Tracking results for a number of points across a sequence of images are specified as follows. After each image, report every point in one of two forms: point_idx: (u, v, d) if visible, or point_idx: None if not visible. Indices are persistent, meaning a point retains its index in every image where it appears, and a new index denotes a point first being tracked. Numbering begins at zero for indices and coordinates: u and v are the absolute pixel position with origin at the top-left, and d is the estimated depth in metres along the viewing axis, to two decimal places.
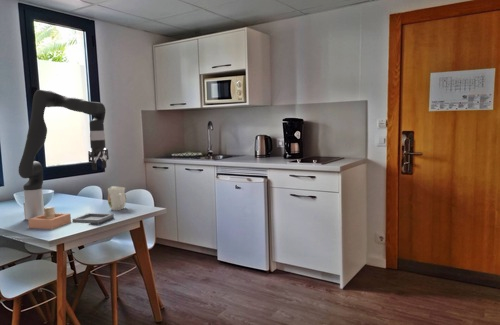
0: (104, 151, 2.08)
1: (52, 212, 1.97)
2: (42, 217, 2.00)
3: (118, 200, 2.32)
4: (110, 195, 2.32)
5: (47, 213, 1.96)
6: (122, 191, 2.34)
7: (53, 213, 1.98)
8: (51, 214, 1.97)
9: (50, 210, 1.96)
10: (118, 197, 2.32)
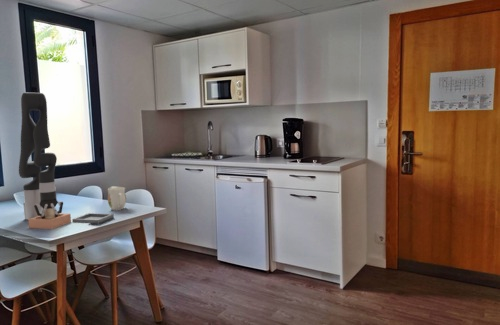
0: (39, 205, 1.96)
1: (52, 212, 1.97)
2: None
3: (118, 200, 2.32)
4: (110, 195, 2.32)
5: (47, 213, 1.96)
6: (122, 191, 2.34)
7: (53, 213, 1.98)
8: (51, 214, 1.97)
9: (50, 210, 1.96)
10: (118, 197, 2.32)
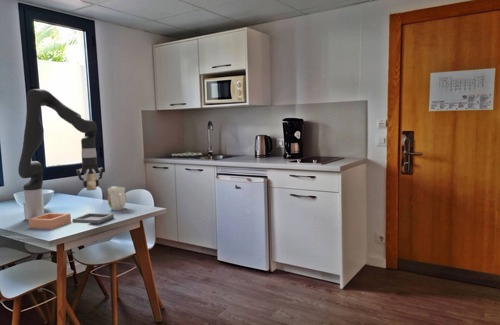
0: (81, 170, 2.04)
1: (93, 177, 2.05)
2: (42, 217, 2.00)
3: (118, 200, 2.32)
4: (110, 195, 2.32)
5: (88, 178, 2.04)
6: (122, 191, 2.34)
7: (94, 178, 2.06)
8: (92, 179, 2.04)
9: (91, 175, 2.04)
10: (118, 197, 2.32)
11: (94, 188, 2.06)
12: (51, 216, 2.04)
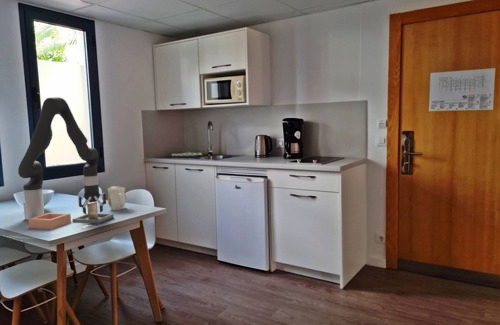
0: (82, 197, 2.05)
1: (95, 207, 2.07)
2: (42, 217, 2.00)
3: (118, 200, 2.32)
4: (110, 195, 2.32)
5: (90, 208, 2.05)
6: (122, 191, 2.34)
7: (96, 208, 2.07)
8: (94, 209, 2.06)
9: (93, 205, 2.06)
10: (118, 197, 2.32)
11: (96, 218, 2.07)
12: (51, 216, 2.04)
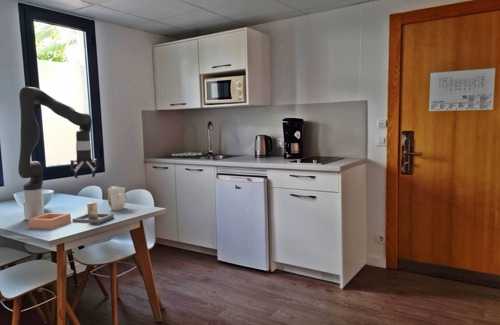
0: (74, 162, 2.08)
1: (95, 207, 2.07)
2: (42, 217, 2.00)
3: (118, 200, 2.32)
4: (110, 195, 2.32)
5: (90, 208, 2.05)
6: (122, 191, 2.34)
7: (96, 208, 2.07)
8: (94, 209, 2.06)
9: (93, 205, 2.06)
10: (118, 197, 2.32)
11: (96, 218, 2.07)
12: (51, 216, 2.04)
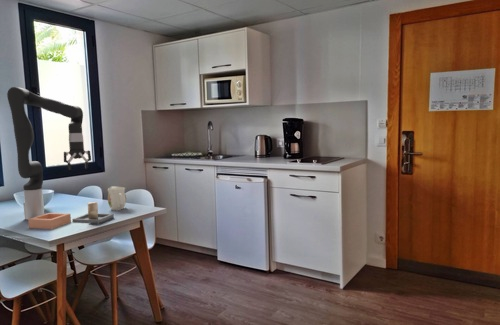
0: (67, 153, 2.14)
1: (96, 207, 2.07)
2: (42, 217, 2.00)
3: (118, 200, 2.32)
4: (110, 195, 2.32)
5: (91, 208, 2.06)
6: (122, 191, 2.34)
7: (96, 208, 2.08)
8: (94, 209, 2.06)
9: (94, 205, 2.06)
10: (118, 197, 2.32)
11: (96, 218, 2.08)
12: (51, 216, 2.04)
